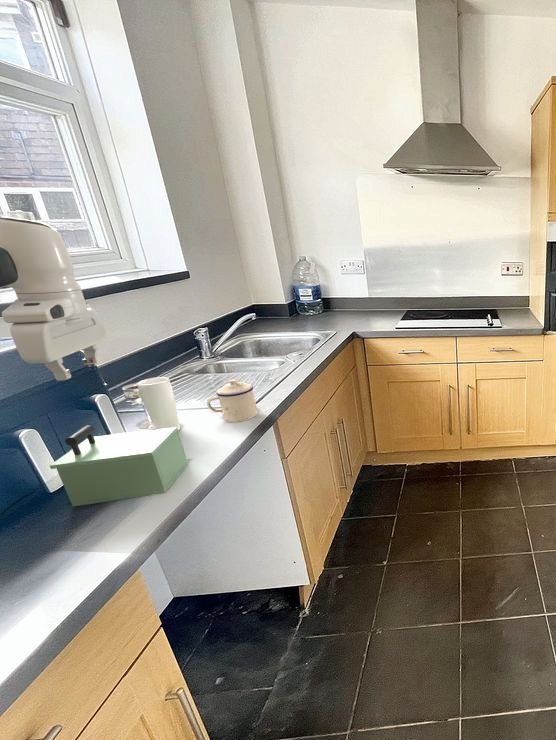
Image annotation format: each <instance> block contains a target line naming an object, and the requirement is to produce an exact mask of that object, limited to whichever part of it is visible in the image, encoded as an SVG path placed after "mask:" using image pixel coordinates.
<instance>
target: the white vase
mask: <svg viewBox="0 0 556 740" xmlns="http://www.w3.org/2000/svg"><path fill="white" fill-rule="evenodd" d="M136 383H137V386H138V390H139V393H140V396H141V399H142V401H143V403H144V406H145V408H146V410H147V412H148V414H149V418H150V421H151V422H152V423H153V425H154V427H153V428H154V430H155V429H164V428H173V427H177V428H178V431H180V429H181V424H180V420H179V415H178V410H177V405H176V399H175V393H174V389H173V387H172V383H171V380H170V378H169V377H167V376H157V377H149V378H145V379H143V380H140V381H138V382H136Z"/></svg>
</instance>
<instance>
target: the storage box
mask: <svg viewBox="0 0 556 740" xmlns="http://www.w3.org/2000/svg"><path fill="white" fill-rule="evenodd" d="M181 438H182V437H181V435H180V430H178V431H177V432H176V433H175V434H174V435H173V436H172V437H171V438H170V439H169V440H168V441H167V442H166V443H165V444H164V445H163V446H162V447H161V448H160V449H159V450H158V451H157V452H156V453H155V454H154V455H153V456H148V457H140V458H132V459H125V460H117V461H109V462H102V463H94V464H86V465H79V466H71V467H63V468H56V472H57V473H58V475H59V478H60V480H61V482H62V485H63V487H64V490H65V492H66V494H67V496H68V500H69V502H70V503H71V506H72V507H80V506H87V505H92V504H93V505H94V504H98V503H99V504H100V503H105V502H112V501H119V500H125V499H133V498H139V497H146V496H151V495H158V494H165V493H166V492H167V491H168V490H169V488H170V487H171V486H172V484H173V483H174V482H175V481H176V480H177V479H178V478H179V476H180V474H182V472H183V471H184V470H185V469H186V467H187V466H188V464H189V461H188V458H187V454H186V452H185V448H184V445H183V440H182V439H181Z"/></svg>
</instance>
